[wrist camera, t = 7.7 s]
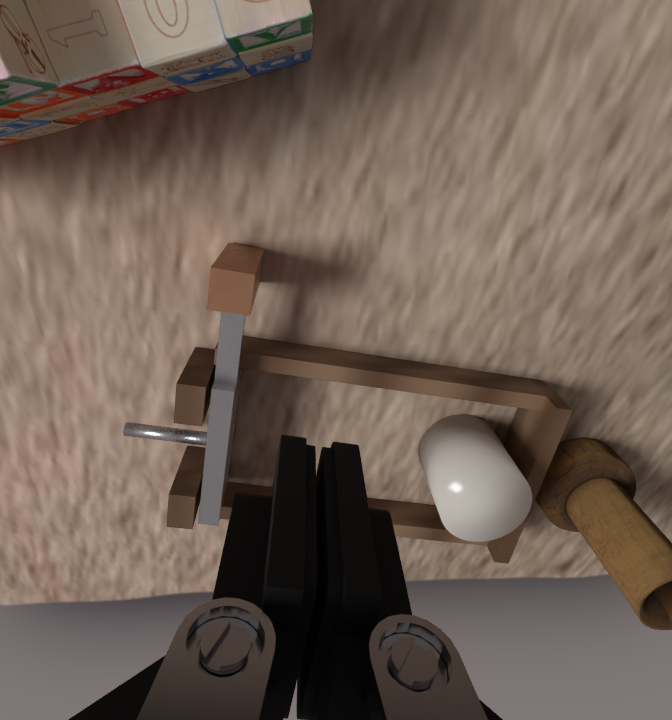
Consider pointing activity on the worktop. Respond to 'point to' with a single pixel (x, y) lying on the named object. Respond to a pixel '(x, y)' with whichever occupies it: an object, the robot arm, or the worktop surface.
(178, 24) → the stack of blocks
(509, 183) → the worktop surface
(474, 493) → the white marshmallow
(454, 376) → the lane
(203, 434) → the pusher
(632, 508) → the mortar and pestle
